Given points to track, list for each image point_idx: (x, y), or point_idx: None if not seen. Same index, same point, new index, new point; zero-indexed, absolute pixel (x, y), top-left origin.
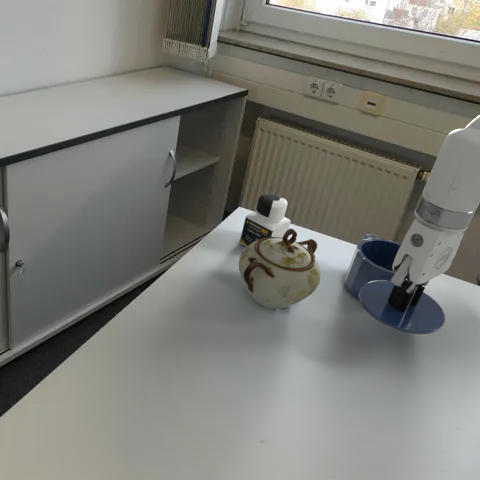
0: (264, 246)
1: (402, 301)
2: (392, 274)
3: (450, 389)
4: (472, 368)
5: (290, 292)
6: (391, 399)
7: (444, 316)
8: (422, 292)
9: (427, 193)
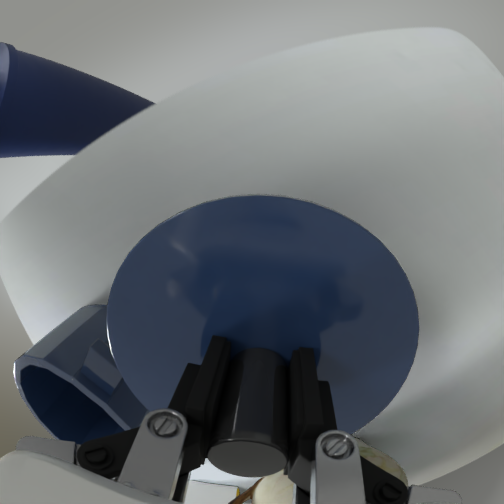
0: None
1: (322, 396)
2: (124, 416)
3: (296, 96)
4: (167, 99)
5: (398, 474)
6: (443, 185)
7: (170, 220)
8: (199, 385)
9: None
